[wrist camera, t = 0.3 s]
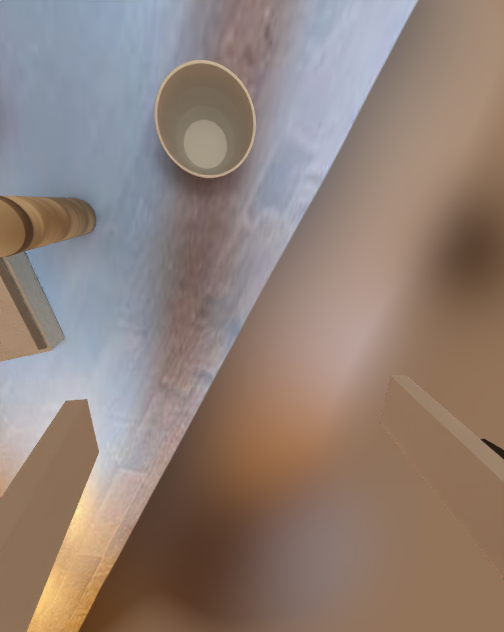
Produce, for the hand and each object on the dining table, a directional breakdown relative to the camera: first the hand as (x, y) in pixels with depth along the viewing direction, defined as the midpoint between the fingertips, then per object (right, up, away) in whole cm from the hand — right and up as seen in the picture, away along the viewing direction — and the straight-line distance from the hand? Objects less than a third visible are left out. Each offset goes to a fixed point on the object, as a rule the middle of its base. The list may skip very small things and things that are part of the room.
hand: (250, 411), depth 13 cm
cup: (-5, +24, +20) cm, 31 cm away
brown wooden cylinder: (-20, +16, +20) cm, 33 cm away
